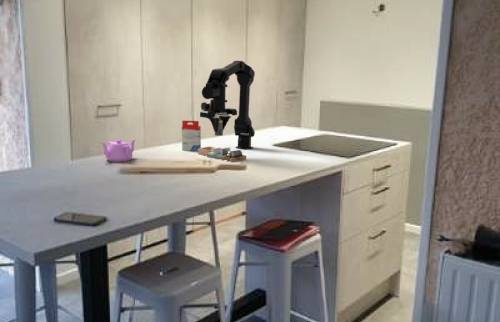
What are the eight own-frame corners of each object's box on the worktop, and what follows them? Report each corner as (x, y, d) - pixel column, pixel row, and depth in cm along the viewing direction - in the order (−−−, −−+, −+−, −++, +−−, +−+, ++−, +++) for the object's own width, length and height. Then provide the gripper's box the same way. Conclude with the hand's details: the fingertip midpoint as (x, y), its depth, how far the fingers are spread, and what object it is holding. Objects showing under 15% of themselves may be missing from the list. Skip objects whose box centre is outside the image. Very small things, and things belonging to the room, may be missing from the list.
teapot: (100, 162, 226) (100, 141, 224) (110, 156, 240) (110, 136, 238) (128, 163, 226) (128, 142, 224) (136, 157, 239) (136, 137, 238)
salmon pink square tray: (209, 152, 254) (209, 146, 254) (219, 154, 250) (219, 148, 249) (198, 154, 249) (198, 148, 249) (208, 156, 245) (208, 150, 244)
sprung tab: (228, 153, 244) (228, 147, 244) (230, 154, 243) (230, 147, 243) (220, 155, 241) (220, 148, 240) (222, 155, 240) (222, 149, 239)
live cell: (236, 157, 242) (236, 149, 241) (242, 158, 240) (242, 150, 239) (225, 159, 237) (225, 151, 236) (231, 160, 234) (231, 152, 234)
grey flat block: (222, 154, 250) (222, 146, 250) (236, 157, 244) (236, 149, 244) (206, 156, 243) (207, 149, 242) (220, 159, 237) (220, 151, 236)
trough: (236, 157, 244) (237, 153, 244) (246, 159, 240) (246, 155, 240) (222, 160, 237) (222, 156, 237) (231, 162, 233) (231, 158, 233)
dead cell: (224, 135, 243) (224, 118, 242) (218, 136, 241) (218, 119, 239) (218, 134, 246) (218, 117, 244) (213, 135, 243) (213, 118, 242)
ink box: (200, 149, 261) (201, 119, 258) (199, 151, 256) (199, 121, 253) (183, 148, 262) (183, 119, 259) (181, 150, 257) (181, 120, 254)
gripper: (220, 95, 252) (220, 128, 255) (191, 97, 238) (191, 131, 241) (238, 97, 245) (237, 130, 248) (208, 99, 231) (208, 134, 234)
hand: (218, 131), depth 243 cm, fingers closed on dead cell, 4 cm apart
